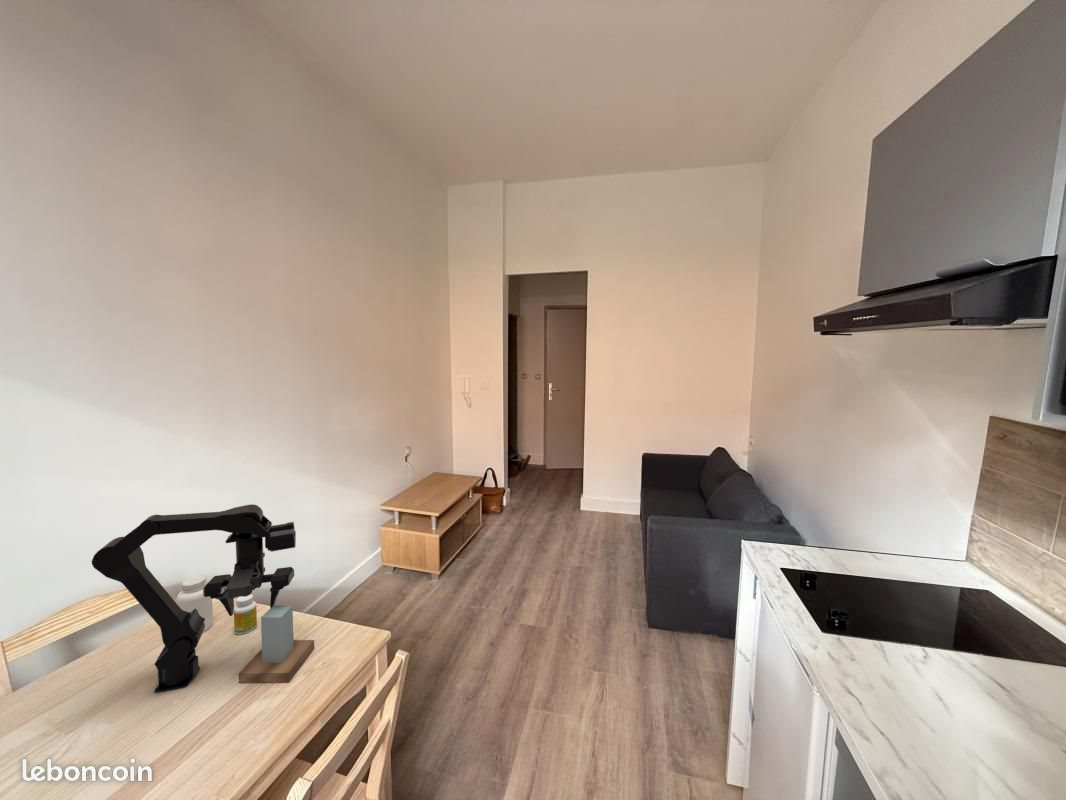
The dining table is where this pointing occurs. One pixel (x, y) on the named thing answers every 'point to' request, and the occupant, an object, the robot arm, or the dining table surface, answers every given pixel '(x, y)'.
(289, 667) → the walnut board
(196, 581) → the pill bottle
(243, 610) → the supplement bottle
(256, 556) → the robot arm
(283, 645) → the slate post
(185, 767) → the dining table surface
